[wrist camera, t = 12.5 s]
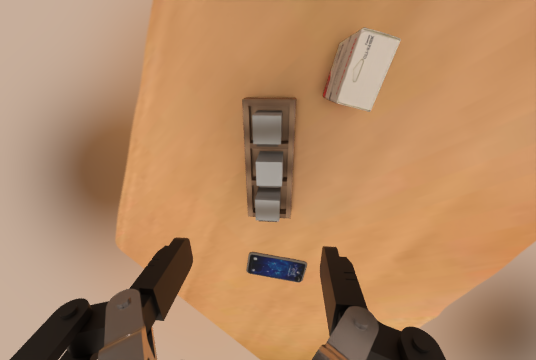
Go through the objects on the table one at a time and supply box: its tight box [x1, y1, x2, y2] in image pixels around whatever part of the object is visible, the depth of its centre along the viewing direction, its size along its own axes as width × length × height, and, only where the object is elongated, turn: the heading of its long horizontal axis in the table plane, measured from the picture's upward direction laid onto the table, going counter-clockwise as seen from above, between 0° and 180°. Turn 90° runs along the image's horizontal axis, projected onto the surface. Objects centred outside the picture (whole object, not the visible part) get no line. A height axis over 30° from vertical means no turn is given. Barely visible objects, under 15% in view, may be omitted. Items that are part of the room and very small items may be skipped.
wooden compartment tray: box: [242, 98, 296, 222], centre depth 41 cm, size 24×9×8 cm, turn 0°
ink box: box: [323, 28, 401, 112], centre depth 32 cm, size 8×5×12 cm, turn 167°
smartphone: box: [247, 252, 307, 282], centre depth 57 cm, size 7×1×15 cm
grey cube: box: [256, 151, 283, 188], centre depth 41 cm, size 5×4×6 cm
